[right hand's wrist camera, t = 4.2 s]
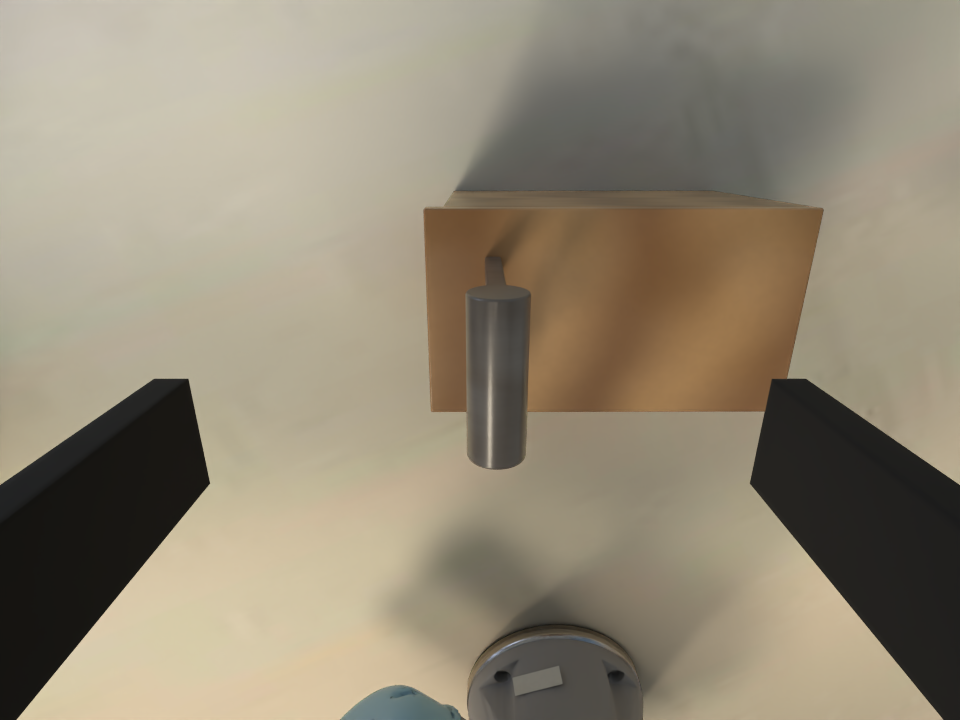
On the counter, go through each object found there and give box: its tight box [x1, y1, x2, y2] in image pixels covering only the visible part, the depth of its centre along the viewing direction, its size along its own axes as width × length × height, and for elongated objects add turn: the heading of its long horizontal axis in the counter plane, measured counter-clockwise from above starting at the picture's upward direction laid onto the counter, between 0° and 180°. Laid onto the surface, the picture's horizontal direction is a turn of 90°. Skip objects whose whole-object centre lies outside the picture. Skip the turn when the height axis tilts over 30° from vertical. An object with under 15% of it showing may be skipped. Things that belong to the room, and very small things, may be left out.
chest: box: [444, 191, 809, 207], centre depth 30 cm, size 16×10×11 cm, turn 90°
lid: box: [424, 207, 823, 470], centre depth 21 cm, size 17×10×9 cm, turn 90°
